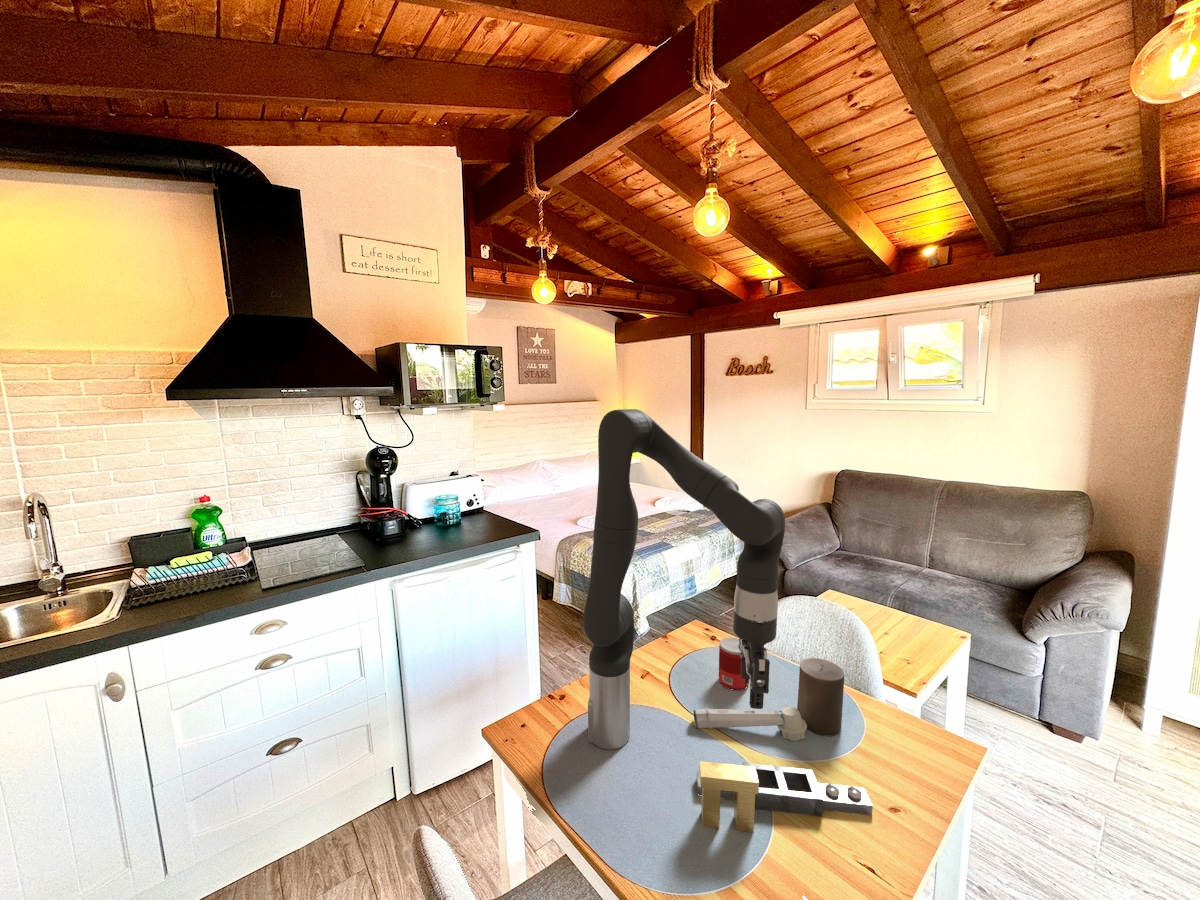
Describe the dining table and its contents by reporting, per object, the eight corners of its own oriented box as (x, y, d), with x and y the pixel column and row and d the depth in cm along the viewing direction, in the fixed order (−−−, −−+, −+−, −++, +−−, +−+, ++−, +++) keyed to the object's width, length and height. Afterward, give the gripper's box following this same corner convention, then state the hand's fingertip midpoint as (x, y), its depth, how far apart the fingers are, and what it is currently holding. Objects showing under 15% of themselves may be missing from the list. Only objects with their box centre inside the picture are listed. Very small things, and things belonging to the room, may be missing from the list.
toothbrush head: (692, 703, 114) (800, 699, 110) (696, 728, 115) (803, 725, 111) (693, 718, 109) (807, 714, 105) (697, 744, 110) (810, 741, 106)
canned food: (752, 691, 124) (754, 652, 123) (722, 691, 124) (723, 652, 123) (744, 674, 132) (745, 637, 131) (715, 674, 132) (716, 637, 131)
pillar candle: (836, 743, 106) (840, 680, 104) (791, 724, 112) (794, 665, 110) (844, 719, 114) (849, 661, 112) (802, 703, 120) (805, 647, 118)
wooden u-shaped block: (699, 827, 86) (701, 776, 85) (698, 810, 89) (699, 761, 88) (756, 834, 84) (758, 782, 83) (753, 816, 88) (755, 766, 87)
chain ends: (698, 802, 91) (698, 786, 91) (696, 773, 98) (696, 758, 98) (875, 822, 87) (876, 805, 86) (860, 790, 94) (861, 774, 93)
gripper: (728, 591, 93) (724, 668, 95) (741, 628, 79) (737, 716, 81) (767, 593, 92) (763, 671, 94) (787, 630, 78) (782, 720, 80)
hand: (751, 692), depth 88 cm, fingers open, 8 cm apart
